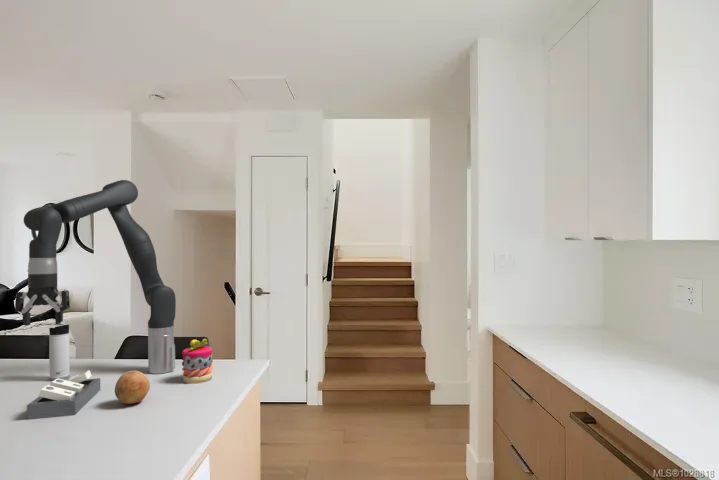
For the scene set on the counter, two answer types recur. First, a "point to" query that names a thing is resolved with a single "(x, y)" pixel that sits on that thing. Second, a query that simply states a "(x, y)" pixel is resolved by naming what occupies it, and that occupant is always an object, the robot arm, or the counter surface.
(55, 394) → the rocker
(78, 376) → the rocker
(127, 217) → the robot arm
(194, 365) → the cake
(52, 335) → the travel mug
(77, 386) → the rocker middle
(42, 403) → the power strip
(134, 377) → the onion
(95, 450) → the counter surface
